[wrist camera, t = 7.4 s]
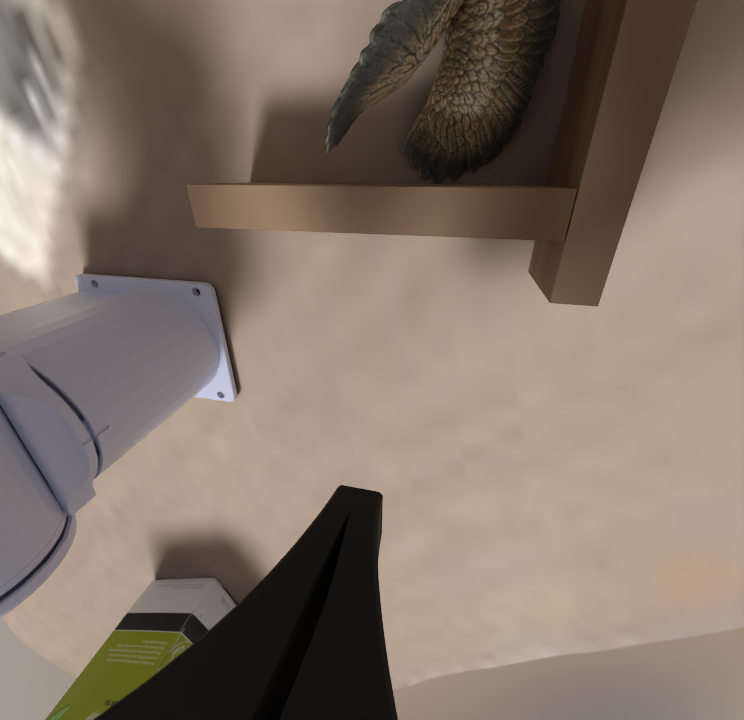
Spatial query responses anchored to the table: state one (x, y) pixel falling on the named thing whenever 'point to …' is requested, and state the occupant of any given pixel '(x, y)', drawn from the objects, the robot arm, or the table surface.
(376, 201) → the walnut corner bracket
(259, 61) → the table surface
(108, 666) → the tea box
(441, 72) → the eagle figurine
